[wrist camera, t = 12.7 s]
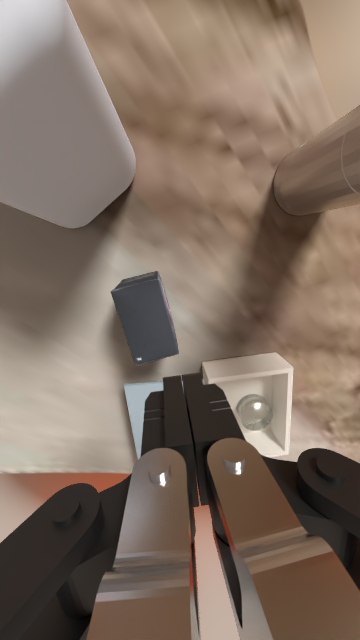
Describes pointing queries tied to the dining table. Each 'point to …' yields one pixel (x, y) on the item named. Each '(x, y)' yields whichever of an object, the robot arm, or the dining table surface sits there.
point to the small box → (146, 318)
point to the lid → (139, 407)
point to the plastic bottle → (56, 119)
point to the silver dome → (254, 412)
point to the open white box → (265, 380)
